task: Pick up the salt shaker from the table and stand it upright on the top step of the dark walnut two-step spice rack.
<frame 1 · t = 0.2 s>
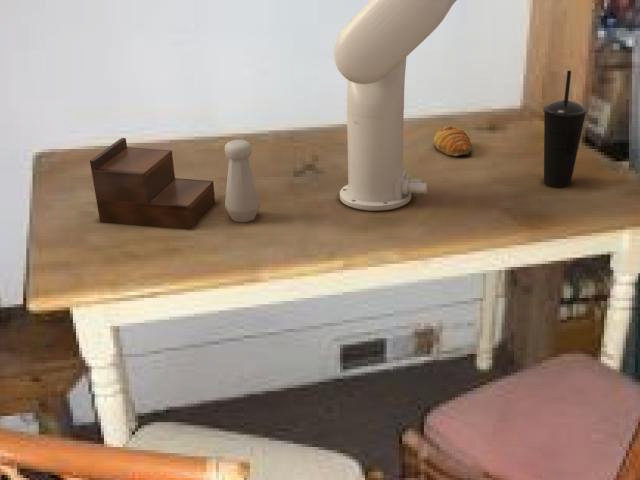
salt shaker: (243, 218, 157), on the table
drinking cup: (557, 183, 170), on the table
pastry: (453, 150, 186), on the table
spice rack: (158, 212, 159), on the table
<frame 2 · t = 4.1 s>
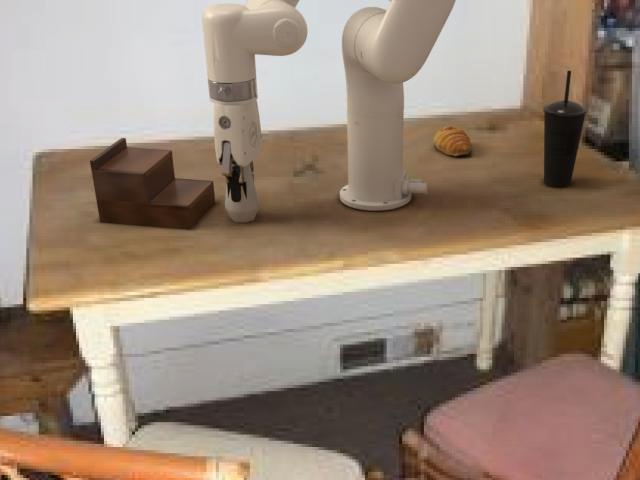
hand: (242, 199, 155), 3 cm above the table, tool pointing down, fingers closed on salt shaker, 3 cm apart
salt shaker: (243, 219, 157), on the table, touching gripper
everything else where it was.
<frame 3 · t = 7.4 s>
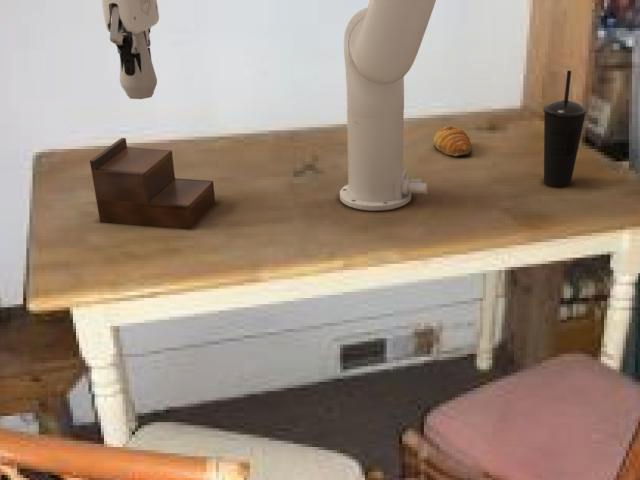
hand: (138, 75, 147), 23 cm above the table, tool pointing down, fingers closed on salt shaker, 3 cm apart
salt shaker: (140, 97, 149), point 20 cm above the table, touching gripper
everything else where it was.
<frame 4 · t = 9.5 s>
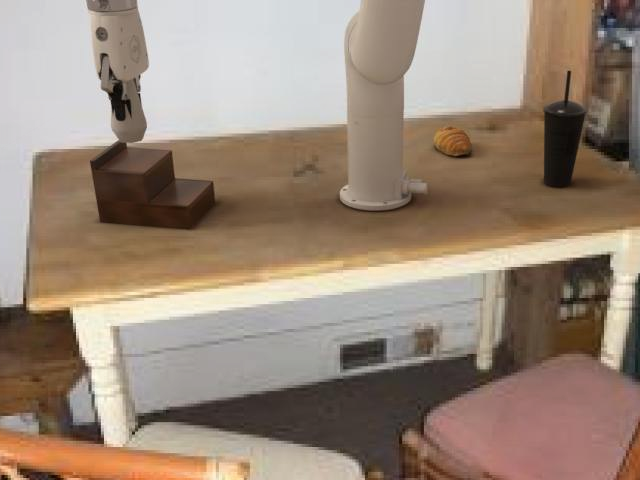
hand: (128, 119, 151), 16 cm above the table, tool pointing down, fingers closed on salt shaker, 3 cm apart
salt shaker: (131, 140, 153), point 12 cm above the table, touching gripper
everything else where it was.
when the fingers open (12 cm above the table, at t = 10.8 s): salt shaker stays where it is, resting on spice rack.
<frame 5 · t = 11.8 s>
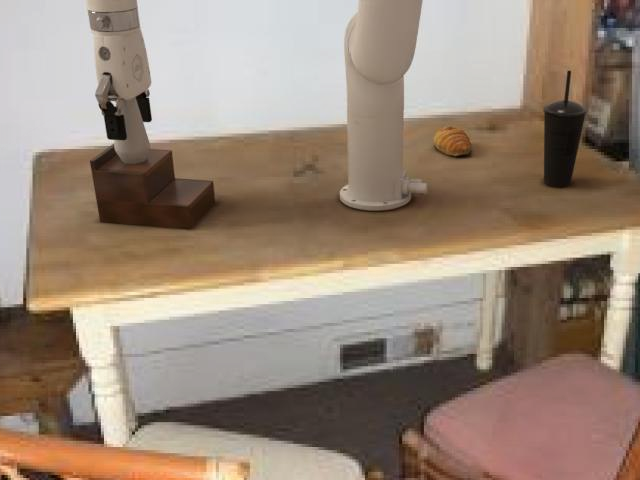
hand: (130, 130, 152), 14 cm above the table, tool pointing down, fingers open, 9 cm apart
salt shaker: (134, 161, 155), point 9 cm above the table, touching spice rack
everything else where it was.
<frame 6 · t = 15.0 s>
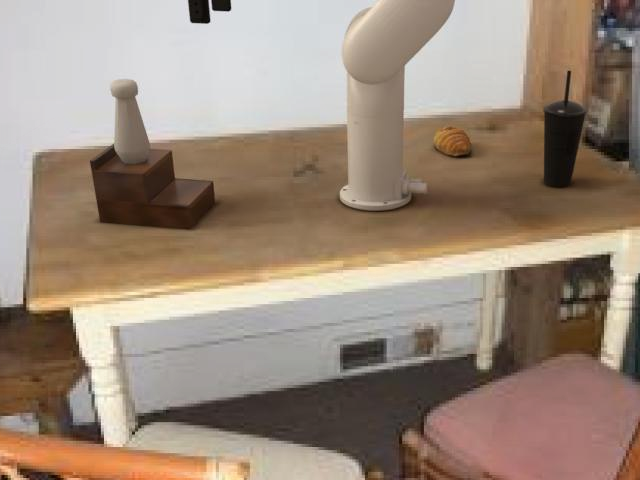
hand: (211, 16, 149), 30 cm above the table, tool pointing down, fingers open, 9 cm apart
nothing on the table moved.
at the end: salt shaker inside the target area on the spice rack (0.3 cm from its centre), point 8.8 cm above the spice rack's base; salt shaker tilted 0°; the gripper is holding nothing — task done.
